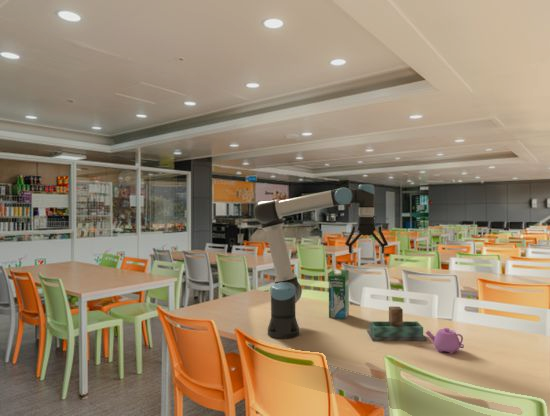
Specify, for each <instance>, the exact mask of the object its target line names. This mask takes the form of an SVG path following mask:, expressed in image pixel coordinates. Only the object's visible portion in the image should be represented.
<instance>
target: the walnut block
mask: <svg viewBox="0 0 550 416" xmlns="http://www.w3.org/2000/svg"><path fill="white" fill-rule="evenodd" d="M403 310H404V309H403V308H402V307H401V306H388V321H389V327H403V319H404V318H403V317H404V315H403V313H404V311H403Z"/></svg>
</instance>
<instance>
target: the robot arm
mask: <svg viewBox="0 0 550 416" xmlns="http://www.w3.org/2000/svg"><path fill="white" fill-rule="evenodd" d="M375 195H376V194H375V185H374V184H366V183H365V184H359V185H358V187H357V188H347V187H345V186H344V187H343V186H342V187H340V188H335V189H332V190H326V191H321V192H316V193H310V194H307V195H302V196H298V197H292V198H286V199H282V200H279V199H278V198H277V199H267V200H266V199H265V200H260V201H258V202H257V203H256V204H255V206H254V208H253V216H254V219H255V220H256V221H257V222H258V223H260V226H261V229H262V230H263V231H264V232H265V234H266V238H267V243H268V247H269V252H270V254H271V260H272V263H273V268H274V272H275V276H276V278H275V279H274V283H273V284H272V285H271V288H270V316H271V317H270V321H269V323H268V326H267V335H268V336H269V337H271V338H275V339H282V340H283V339H292V338H293V339H294V338H296V337H298V336H299V335H300V327H299V324H298V320H297V318H296V317H297V316H296V304H297V302H298V301H300V298H301V297H302V290H303V289H302V286H301V284H300V283H299V281H298V276H297V275H296V274H295V273H294V272H293V267H292V263H291V260H290V259H291V258H290V256H289V252H288V248H287V243H286V240H285V239H286V238H285V234H284V230H283V226H284V225H285V221H284V217H287V216H291V215H296V214H301V213H307V212H311V211H316V210H321V209H326V208H332V207H338V206H341V205H342V206H343V205H358V226H354V225H352V226H351V231H350V232H349V235H348V237H347V238H346V240H345V243H344V244H345V245H346V246H347V247H348V254H350V260H351V261H354V246H353V245H354V244H355V243H356V242H357V240H359V239H360V237H361V236H363V237H364V236H368V237H369V236H372V237H373V238H374V240H376V242H377V243H378V244H379V248H378V260H379V261H383V259H382V258H383V254H384V253H385V247H386V246H387V247H388V246H389V244H388V241H387V240H386V239H387V238H386V237H385V235H384V234H383V231H382V227H381V226H379V225H377V226H375V217H374V216H375V200H376V198H375ZM356 231H358V233H357V234H356V235H355V237H354V238H353V239H352V237H353V236H354V233H355V232H356ZM374 231H376V232H378V234H379V236H380V238H379V237H378V236H377V235H376V233H374ZM351 239H352V240H351ZM381 240H382V241H381Z"/></svg>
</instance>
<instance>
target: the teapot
mask: <svg viewBox="0 0 550 416" xmlns="http://www.w3.org/2000/svg"><path fill="white" fill-rule="evenodd" d="M425 334H426V335H427V336H428V337H429V339H431V340H432V342H433V346H434V347H435V349H436V350H437V352H438V351H439V352H438V353H443V352H447V353H448V354H450V353H451V355H454V354H455V352H458V350H459V349H464V347H465V344H463V342H464V337H463V335H462V334H461V333H457V332H456V331H455V330H452V329H450V328H449V327H443V328H440V329H439V330H438V331H437V332H436V333H435V336H434V335H433V334H432V332H431V331H429V330H427V331H426V332H425ZM458 336H459V337H460V339H459V337H458ZM453 353H454V354H453Z"/></svg>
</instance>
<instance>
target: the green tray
mask: <svg viewBox="0 0 550 416" xmlns="http://www.w3.org/2000/svg"><path fill="white" fill-rule="evenodd" d="M366 332H367V335H368V336H369V337H370V339H371V341H372V342H427V339H428V338H427V337H426V336H425V335H424V327H423V325H421V323H419V322H418V321H414V320H413V321H410V320H406V321H403V327H389V320H387V321H383V320H382V321H379V320H378V321H375V320H374V321H369V329H367V331H366Z"/></svg>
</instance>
